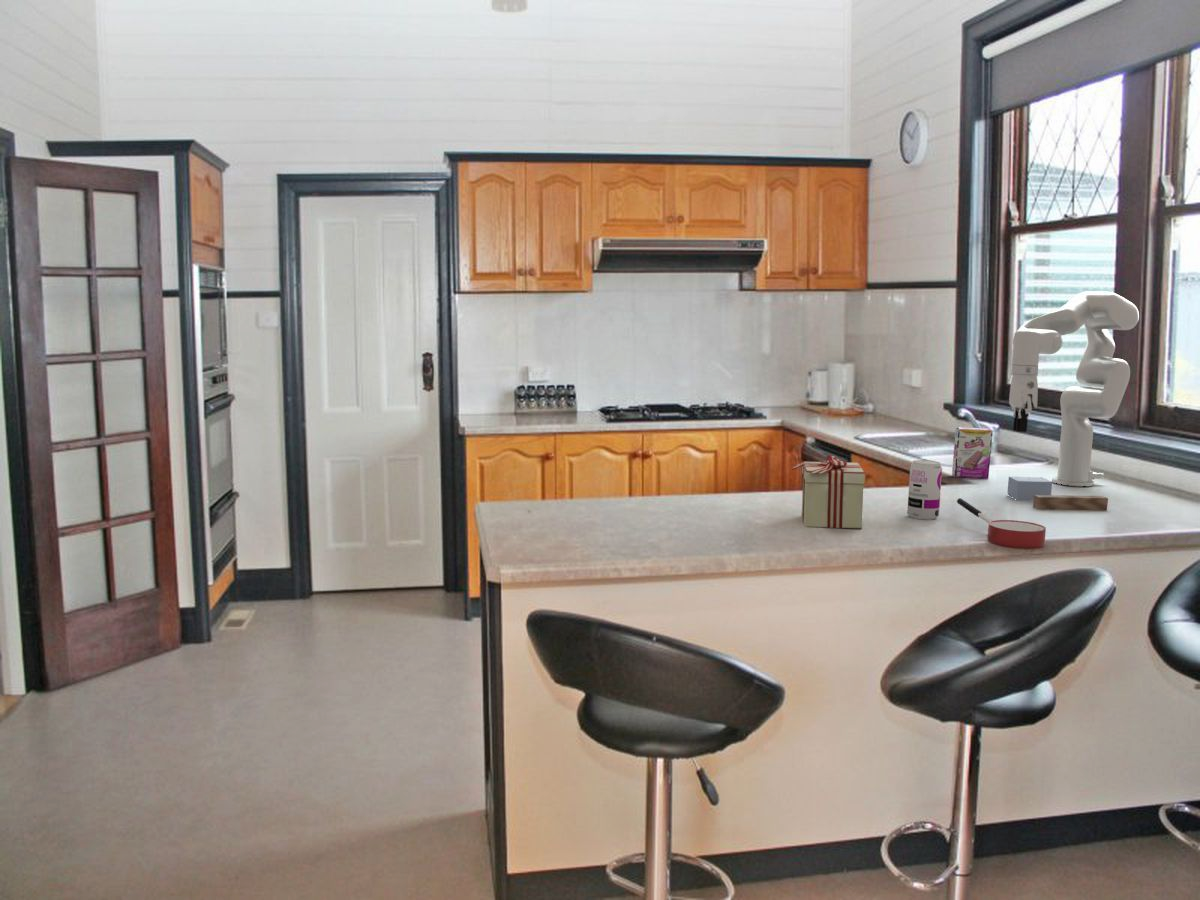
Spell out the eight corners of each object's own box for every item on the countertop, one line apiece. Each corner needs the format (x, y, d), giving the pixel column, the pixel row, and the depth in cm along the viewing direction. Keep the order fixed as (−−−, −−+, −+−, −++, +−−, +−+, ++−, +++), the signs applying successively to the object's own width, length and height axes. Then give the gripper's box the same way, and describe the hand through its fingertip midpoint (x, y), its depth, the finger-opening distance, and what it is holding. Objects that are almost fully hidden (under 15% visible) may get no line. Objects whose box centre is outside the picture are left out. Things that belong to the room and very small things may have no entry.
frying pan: (929, 523, 288) (930, 499, 287) (970, 520, 292) (972, 497, 291) (1011, 550, 258) (1013, 524, 257) (1056, 547, 262) (1058, 521, 261)
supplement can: (939, 515, 297) (942, 461, 295) (937, 521, 290) (941, 465, 288) (908, 513, 300) (911, 459, 298) (906, 518, 292) (909, 463, 290)
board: (1100, 507, 314) (1101, 495, 314) (1106, 510, 311) (1108, 498, 310) (1033, 507, 313) (1033, 495, 313) (1038, 509, 310) (1039, 497, 309)
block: (1040, 497, 331) (1042, 477, 330) (1050, 502, 323) (1052, 482, 322) (1007, 496, 331) (1008, 476, 330) (1016, 501, 323) (1017, 481, 322)
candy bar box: (954, 477, 362) (958, 428, 359) (951, 475, 366) (954, 426, 364) (989, 479, 360) (993, 429, 358) (985, 476, 365) (989, 428, 363)
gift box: (785, 515, 293) (788, 451, 290) (854, 517, 292) (858, 453, 290) (794, 529, 276) (798, 461, 274) (868, 531, 276) (872, 463, 273)
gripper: (1048, 373, 324) (1043, 434, 326) (1025, 369, 339) (1020, 428, 342) (1023, 372, 323) (1018, 434, 326) (1001, 368, 339) (997, 427, 341)
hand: (1019, 430), depth 334 cm, fingers closed
